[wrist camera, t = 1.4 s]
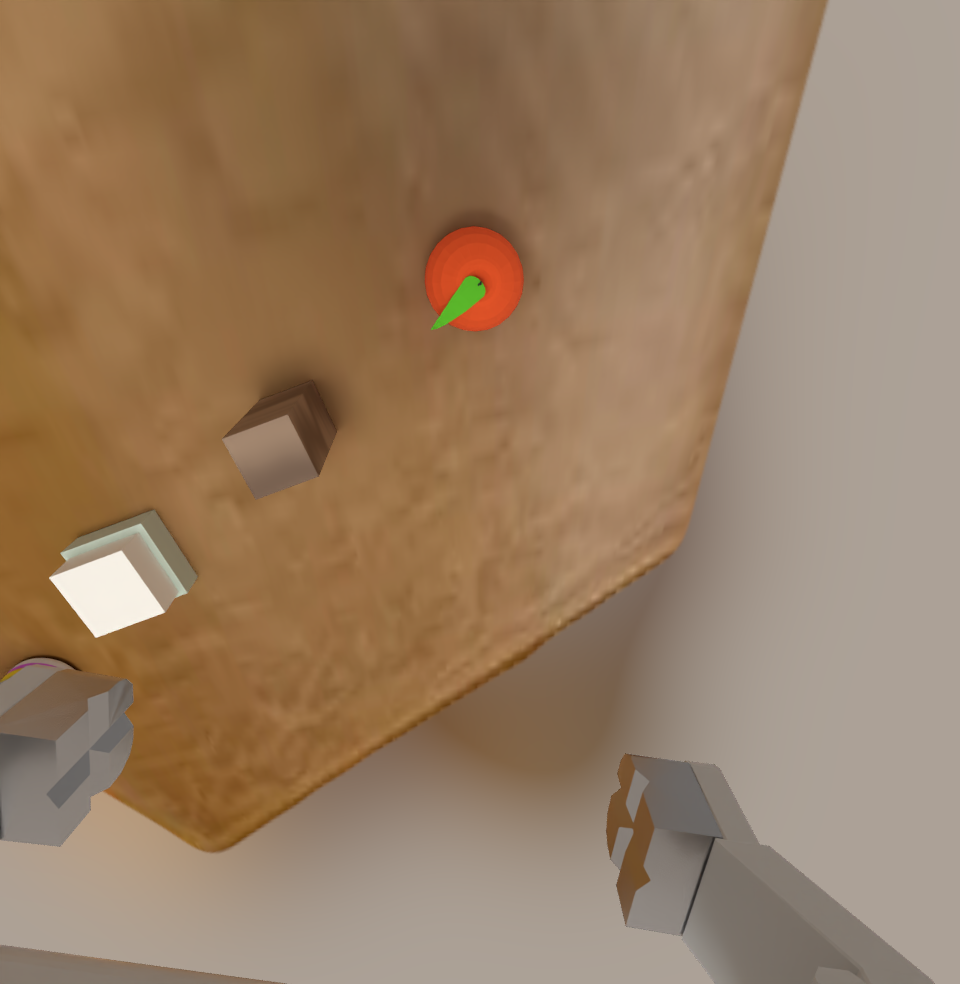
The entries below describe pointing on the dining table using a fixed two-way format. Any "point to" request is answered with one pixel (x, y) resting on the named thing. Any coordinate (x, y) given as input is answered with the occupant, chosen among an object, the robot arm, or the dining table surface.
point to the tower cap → (115, 585)
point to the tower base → (154, 538)
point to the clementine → (473, 279)
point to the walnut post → (282, 440)
